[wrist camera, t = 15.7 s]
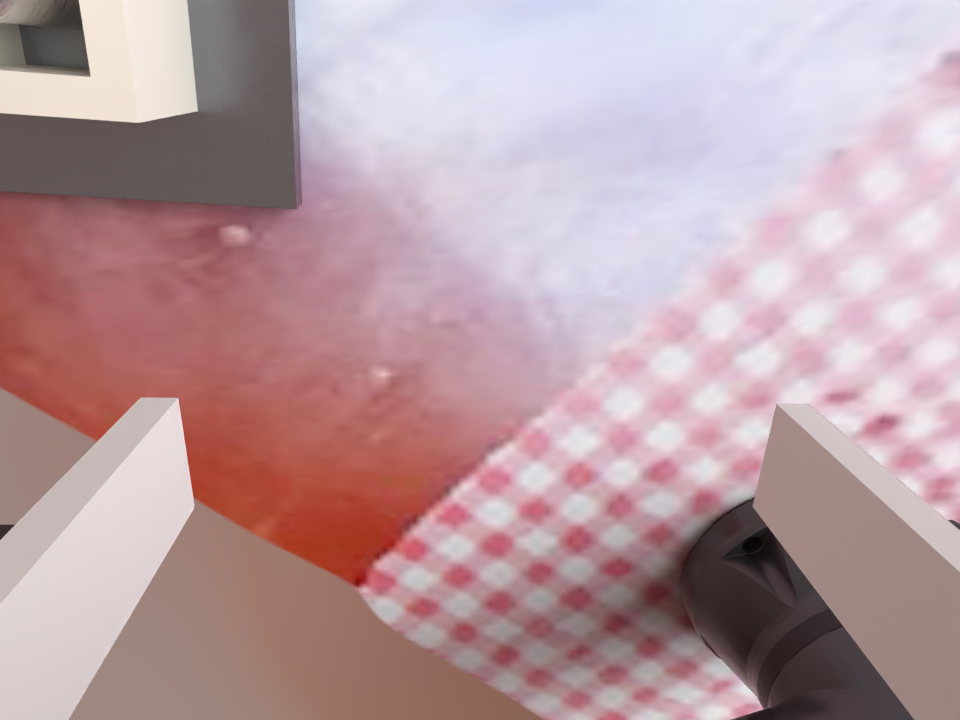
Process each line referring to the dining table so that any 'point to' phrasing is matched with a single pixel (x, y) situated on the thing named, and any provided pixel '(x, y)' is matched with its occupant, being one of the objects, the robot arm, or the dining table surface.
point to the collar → (109, 66)
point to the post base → (172, 140)
